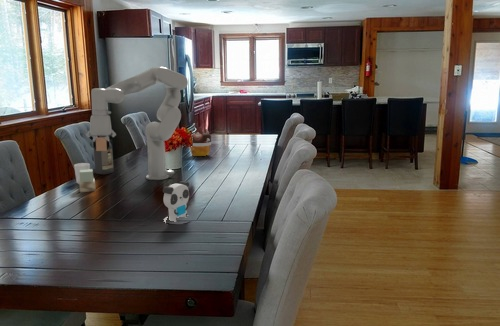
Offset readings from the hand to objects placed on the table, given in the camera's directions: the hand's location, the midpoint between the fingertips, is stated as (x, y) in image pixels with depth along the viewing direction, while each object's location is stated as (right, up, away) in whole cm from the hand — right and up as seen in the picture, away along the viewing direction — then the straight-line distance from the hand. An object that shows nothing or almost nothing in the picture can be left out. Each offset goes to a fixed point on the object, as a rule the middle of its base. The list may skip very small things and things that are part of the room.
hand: (101, 148), depth 214 cm
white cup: (-14, -18, +12) cm, 26 cm away
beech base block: (-6, -21, -2) cm, 22 cm away
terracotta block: (0, -1, 0) cm, 1 cm away
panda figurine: (+47, -30, -46) cm, 72 cm away
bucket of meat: (+39, -2, +91) cm, 100 cm away
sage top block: (-6, -16, -3) cm, 17 cm away
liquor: (-11, -13, +36) cm, 40 cm away
